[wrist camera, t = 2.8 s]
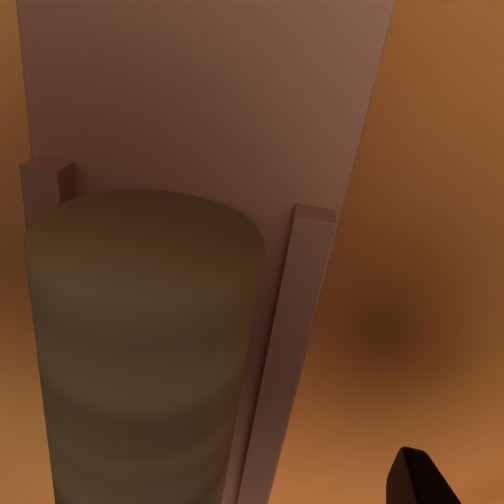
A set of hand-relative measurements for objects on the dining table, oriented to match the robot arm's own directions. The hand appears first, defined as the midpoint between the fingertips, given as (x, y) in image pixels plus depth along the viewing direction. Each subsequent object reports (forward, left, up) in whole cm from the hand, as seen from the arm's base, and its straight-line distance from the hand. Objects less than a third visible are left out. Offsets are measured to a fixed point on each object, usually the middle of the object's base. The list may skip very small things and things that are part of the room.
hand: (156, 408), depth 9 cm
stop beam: (0, 0, -5) cm, 5 cm away
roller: (0, 0, -1) cm, 1 cm away
